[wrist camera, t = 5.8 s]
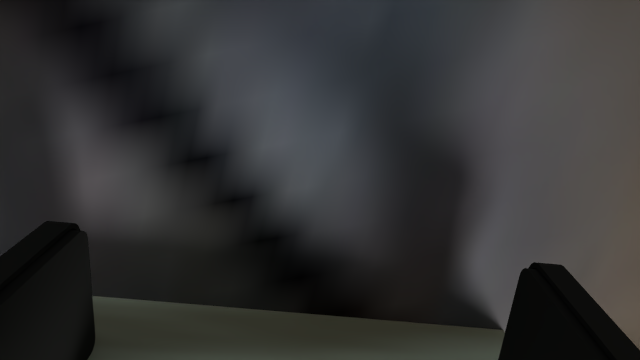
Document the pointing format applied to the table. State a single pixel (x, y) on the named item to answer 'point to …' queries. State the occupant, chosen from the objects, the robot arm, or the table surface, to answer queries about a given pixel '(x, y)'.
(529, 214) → the table surface
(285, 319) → the pale green block
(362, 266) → the table surface
